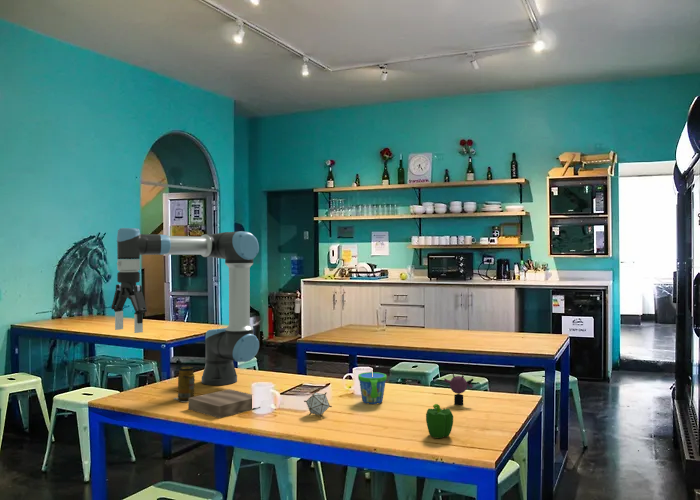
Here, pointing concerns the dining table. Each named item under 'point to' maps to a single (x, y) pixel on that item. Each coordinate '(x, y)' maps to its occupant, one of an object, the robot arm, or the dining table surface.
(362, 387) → the snack cup
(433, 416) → the bell pepper
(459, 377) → the figurine
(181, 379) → the condiment
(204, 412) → the block
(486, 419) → the dining table surface
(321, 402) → the game die
